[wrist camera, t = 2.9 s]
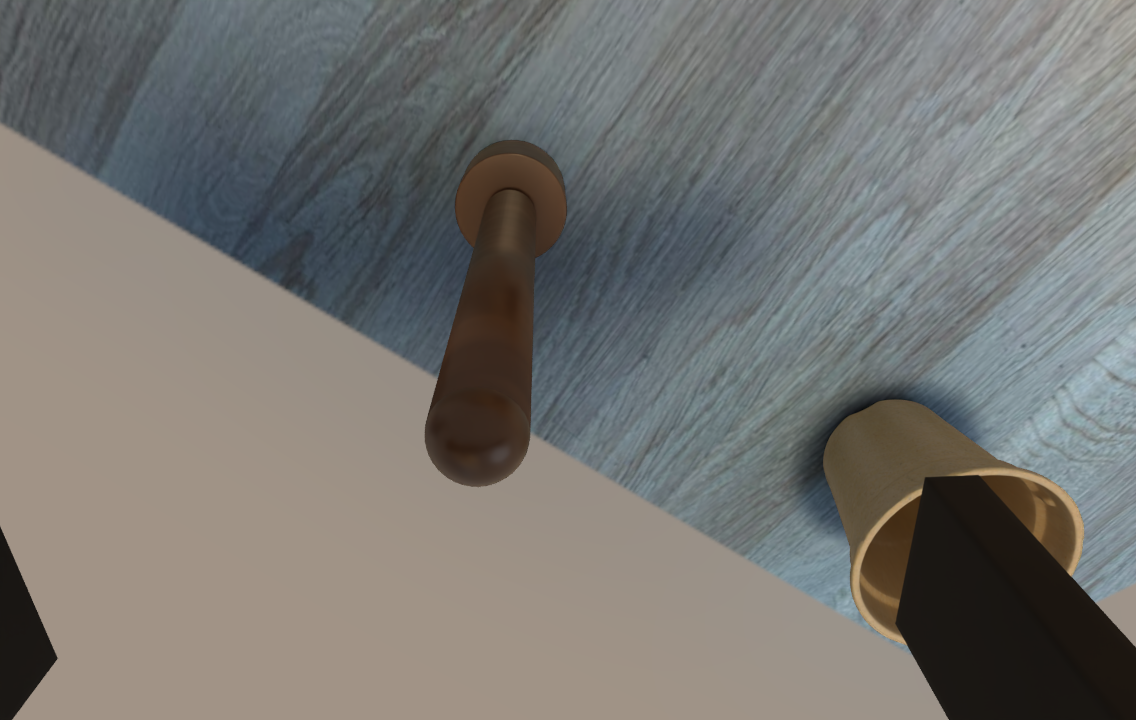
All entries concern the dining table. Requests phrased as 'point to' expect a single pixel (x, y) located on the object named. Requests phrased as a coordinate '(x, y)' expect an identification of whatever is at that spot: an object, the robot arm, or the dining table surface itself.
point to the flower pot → (893, 491)
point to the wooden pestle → (495, 314)
